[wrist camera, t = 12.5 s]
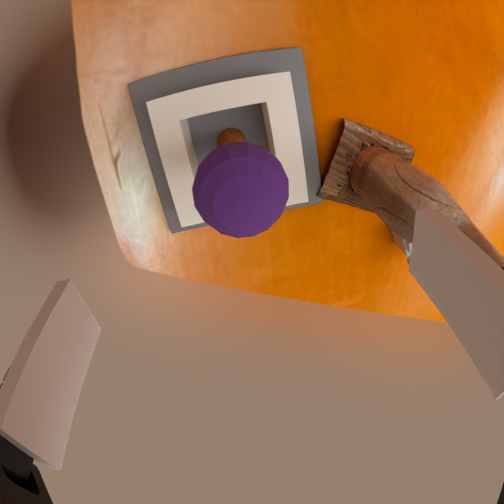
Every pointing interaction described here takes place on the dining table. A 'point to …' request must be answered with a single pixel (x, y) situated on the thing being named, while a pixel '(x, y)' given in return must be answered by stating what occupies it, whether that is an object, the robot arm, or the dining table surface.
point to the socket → (227, 123)
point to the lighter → (403, 245)
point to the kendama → (240, 186)
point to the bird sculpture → (392, 185)
